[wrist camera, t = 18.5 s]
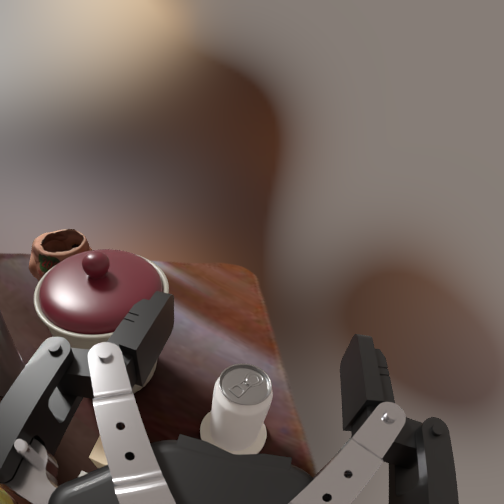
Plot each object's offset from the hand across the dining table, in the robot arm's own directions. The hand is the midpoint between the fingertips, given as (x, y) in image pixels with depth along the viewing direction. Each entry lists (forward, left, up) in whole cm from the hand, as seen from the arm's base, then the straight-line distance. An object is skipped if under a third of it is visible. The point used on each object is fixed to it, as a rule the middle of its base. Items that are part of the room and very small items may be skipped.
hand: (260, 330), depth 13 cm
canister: (-1, +25, -30) cm, 39 cm away
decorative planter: (-3, +45, -30) cm, 54 cm away
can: (+8, +6, -29) cm, 31 cm away
